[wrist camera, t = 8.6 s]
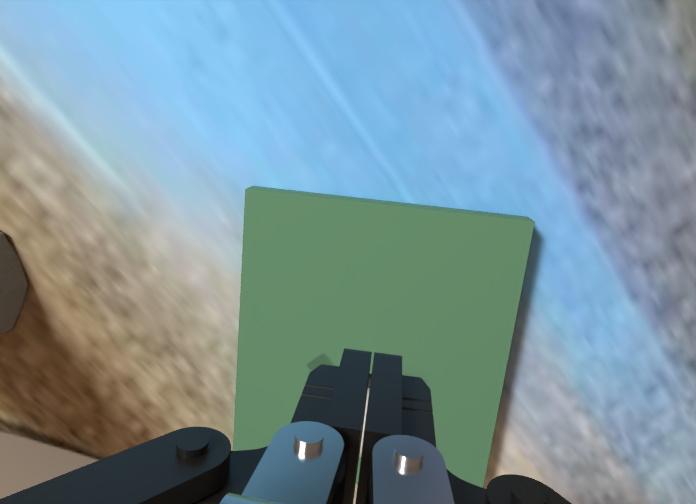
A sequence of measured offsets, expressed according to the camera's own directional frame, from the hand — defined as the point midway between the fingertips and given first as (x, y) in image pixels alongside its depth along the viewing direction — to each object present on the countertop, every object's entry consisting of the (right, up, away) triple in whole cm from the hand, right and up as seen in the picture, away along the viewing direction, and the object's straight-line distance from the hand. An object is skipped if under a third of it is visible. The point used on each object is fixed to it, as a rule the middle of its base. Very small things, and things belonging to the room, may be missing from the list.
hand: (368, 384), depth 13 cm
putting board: (+1, -2, +19) cm, 19 cm away
